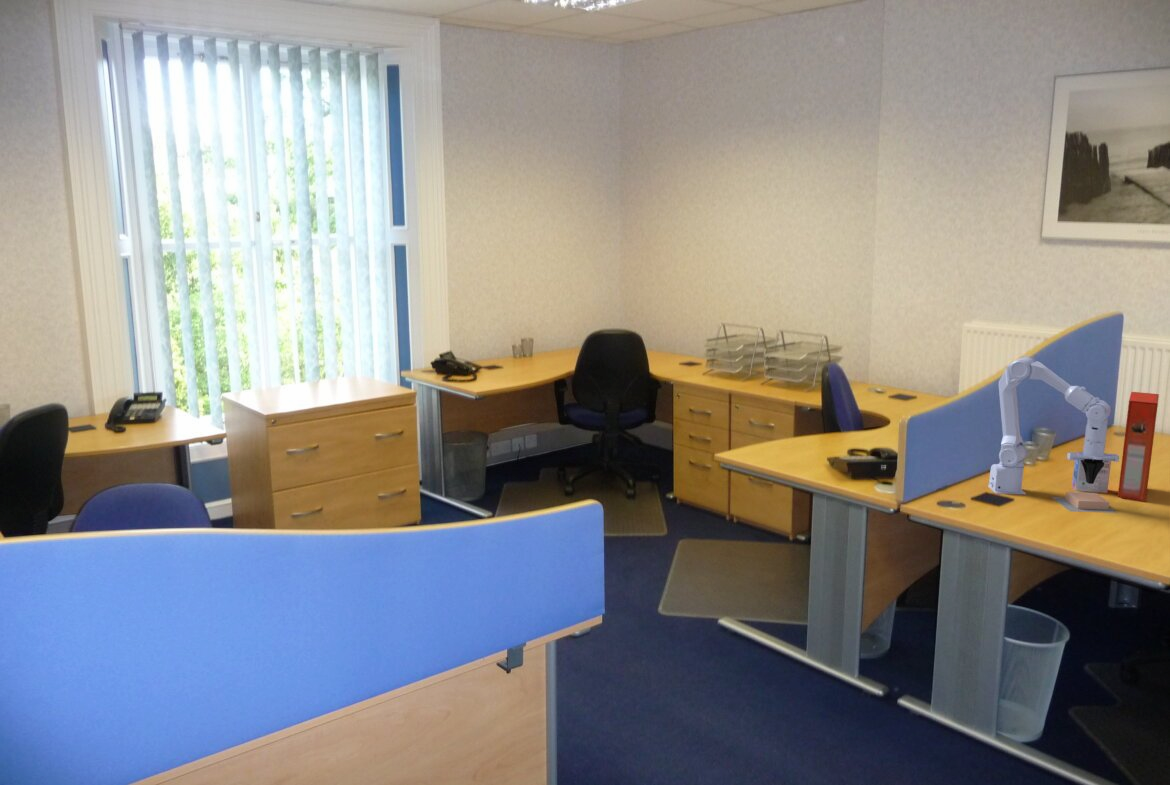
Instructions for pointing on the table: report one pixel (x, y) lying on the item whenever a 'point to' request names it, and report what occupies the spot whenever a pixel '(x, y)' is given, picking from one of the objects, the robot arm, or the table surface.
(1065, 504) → the desk mat
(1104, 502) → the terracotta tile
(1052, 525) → the table surface
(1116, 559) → the table surface
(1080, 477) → the ink cartridge box
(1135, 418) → the file binder
